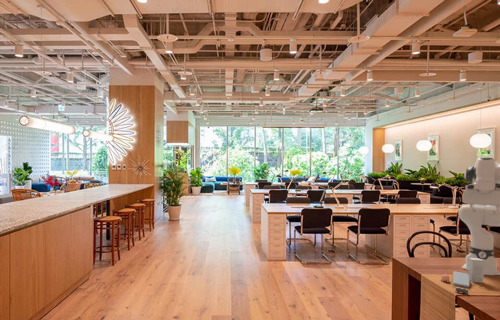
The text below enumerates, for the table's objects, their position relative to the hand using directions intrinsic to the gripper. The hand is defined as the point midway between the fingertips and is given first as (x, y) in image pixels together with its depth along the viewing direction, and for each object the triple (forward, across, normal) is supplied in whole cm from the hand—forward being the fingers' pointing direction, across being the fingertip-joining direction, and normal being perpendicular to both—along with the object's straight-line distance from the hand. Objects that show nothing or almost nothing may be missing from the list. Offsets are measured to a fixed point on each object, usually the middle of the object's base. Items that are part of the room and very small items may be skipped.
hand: (484, 213), depth 183 cm
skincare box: (+37, +4, -7) cm, 38 cm away
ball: (+38, +15, +8) cm, 41 cm away
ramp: (+38, +8, +5) cm, 39 cm away
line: (+39, +6, +13) cm, 41 cm away
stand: (+38, +15, +8) cm, 41 cm away
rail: (+40, +4, +21) cm, 45 cm away
